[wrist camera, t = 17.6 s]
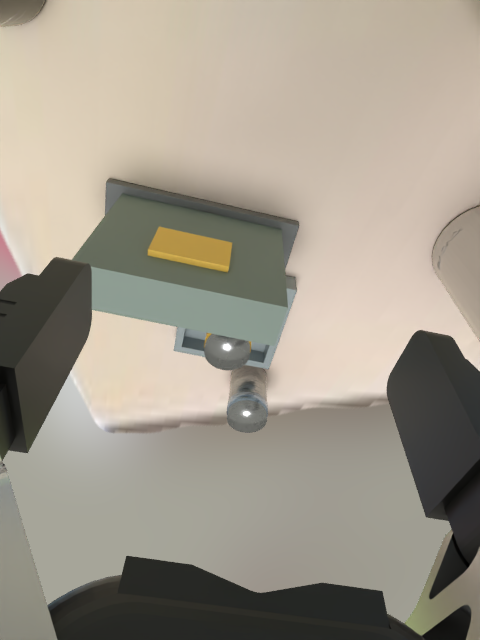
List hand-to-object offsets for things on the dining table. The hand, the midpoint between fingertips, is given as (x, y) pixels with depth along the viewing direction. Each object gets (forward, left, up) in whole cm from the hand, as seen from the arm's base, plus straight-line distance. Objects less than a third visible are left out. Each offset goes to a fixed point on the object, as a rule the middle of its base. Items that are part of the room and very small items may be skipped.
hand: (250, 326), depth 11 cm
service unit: (+3, +12, -30) cm, 32 cm away
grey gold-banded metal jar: (-2, +20, -29) cm, 36 cm away
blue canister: (-6, +30, -30) cm, 43 cm away
